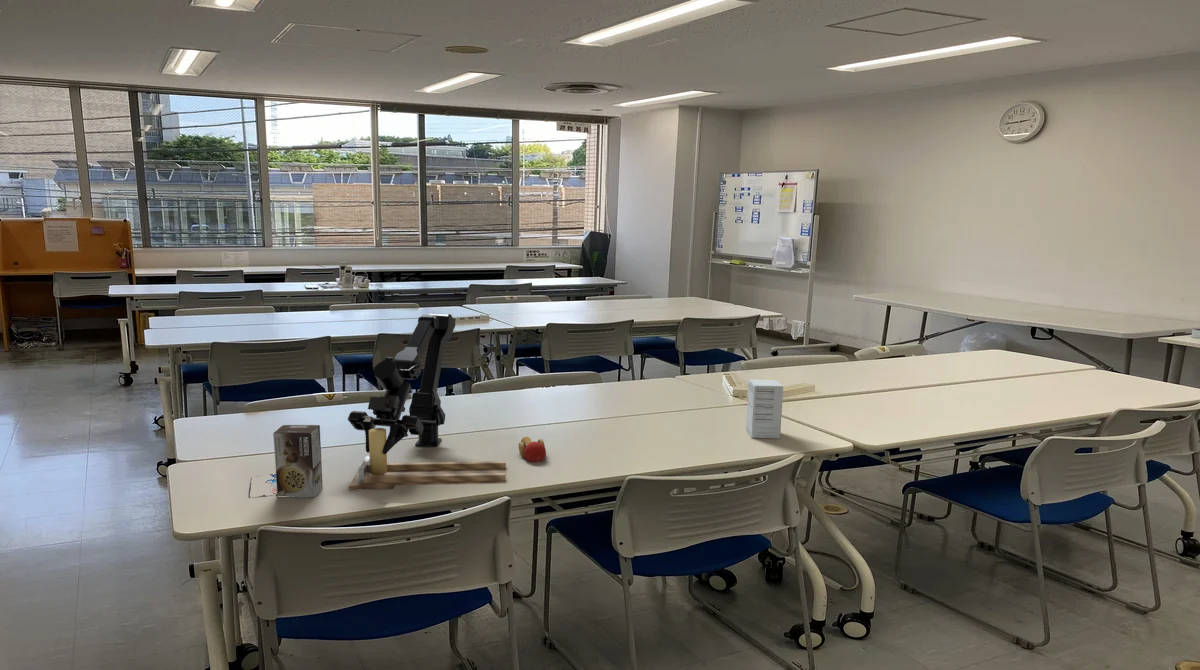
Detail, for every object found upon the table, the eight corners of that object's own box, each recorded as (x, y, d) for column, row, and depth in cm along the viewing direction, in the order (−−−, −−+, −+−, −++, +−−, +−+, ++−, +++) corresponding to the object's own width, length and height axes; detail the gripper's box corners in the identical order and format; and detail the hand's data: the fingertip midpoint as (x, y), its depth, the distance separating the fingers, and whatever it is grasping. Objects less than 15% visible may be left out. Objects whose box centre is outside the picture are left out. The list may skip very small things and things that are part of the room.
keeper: (382, 468, 194) (381, 426, 192) (390, 472, 191) (389, 430, 189) (367, 471, 191) (365, 429, 189) (374, 476, 188) (373, 433, 186)
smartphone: (247, 497, 177) (250, 476, 191) (247, 500, 177) (250, 478, 191) (282, 493, 180) (282, 472, 194) (282, 496, 180) (283, 475, 194)
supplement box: (780, 439, 234) (784, 386, 231) (751, 438, 234) (754, 385, 231) (773, 430, 243) (776, 379, 240) (745, 429, 243) (748, 378, 240)
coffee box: (323, 487, 185) (321, 424, 182) (314, 498, 179) (312, 432, 176) (286, 487, 185) (283, 423, 182) (275, 497, 178) (272, 431, 175)
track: (505, 467, 202) (505, 458, 202) (505, 486, 188) (505, 477, 188) (360, 470, 198) (359, 461, 197) (348, 489, 184) (348, 480, 184)
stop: (371, 468, 196) (371, 455, 195) (364, 483, 186) (363, 469, 185) (366, 468, 196) (366, 455, 195) (359, 483, 186) (358, 469, 185)
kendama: (510, 451, 220) (520, 463, 202) (513, 430, 220) (524, 440, 203) (536, 454, 222) (548, 467, 205) (539, 433, 222) (552, 444, 205)
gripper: (350, 380, 193) (328, 434, 184) (418, 385, 189) (399, 440, 181) (366, 402, 202) (346, 455, 193) (431, 407, 198) (414, 461, 190)
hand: (375, 452), depth 189 cm, fingers closed on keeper, 4 cm apart
